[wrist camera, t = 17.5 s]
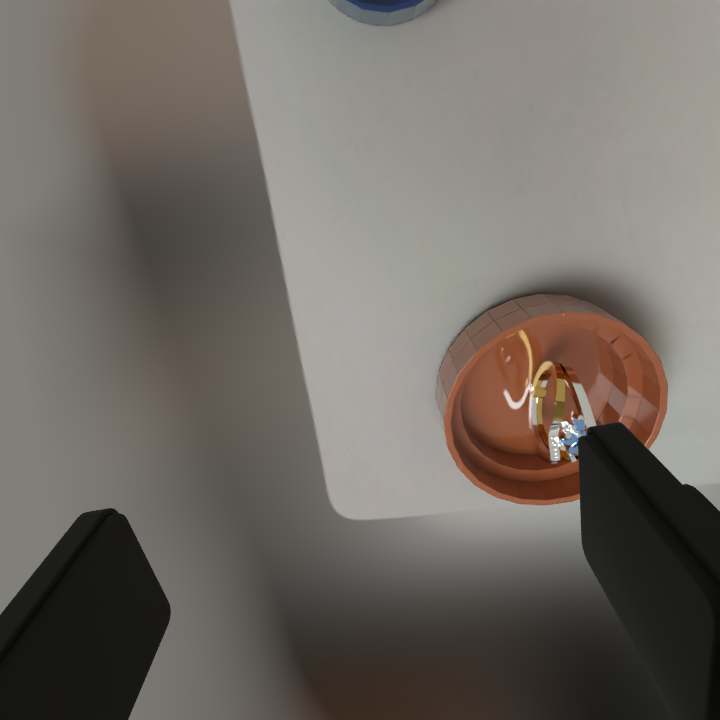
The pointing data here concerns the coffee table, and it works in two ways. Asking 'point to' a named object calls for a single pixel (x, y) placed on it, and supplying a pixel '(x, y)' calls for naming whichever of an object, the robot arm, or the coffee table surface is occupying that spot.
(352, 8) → the blue round dish
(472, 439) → the bowl
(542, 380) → the ring
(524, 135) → the coffee table surface
